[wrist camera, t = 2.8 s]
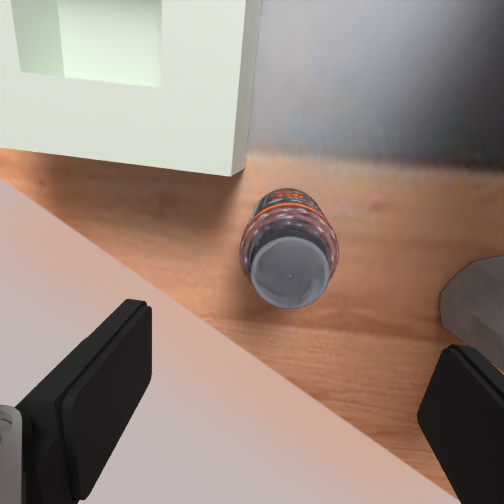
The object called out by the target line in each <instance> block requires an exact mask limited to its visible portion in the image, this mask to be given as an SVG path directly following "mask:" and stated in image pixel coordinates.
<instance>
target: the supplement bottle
mask: <svg viewBox="0 0 504 504" xmlns="http://www.w3.org/2000/svg"><path fill="white" fill-rule="evenodd" d="M338 259H339V247H338V241H337V237H336V235H335V232H334V230H333V228H332V227H331V225H330V223H329V222H328V220H327V219H326V217H325V216H324V214H323V213H322V211H321V209H320V208H319V207H318V205H317V203H316V202H315V201H314V200H313V199H312V198H311V197H310V196H308V195H307V194H305V193H304V192H302V191H299V190H296V189H291V188H284V189H278V190H275V191H272V192H271V193H269V194H267V195H265V196H264V197H263V198H262V199H261V200H260V201H259V203H258V204H257V205H256V207H255V209H254V211H253V213H252V215H251V218H250V220H249V222H248V225H247V227H246V229H245V231H244V234H243V237H242V240H241V244H240V262H241V266H242V269H243V272H244V274H245V276H246V278H247V279H248V280H249V282H250V283H251V284H252V285H253V286H254V289H255V290H256V292H257V293H258V295H259V296H260V297H261V298H262V299H264V300H265V301H266V302H268V303H269V304H271V305H273V306H275V307H279V308H282V309H298V308H302V307H305V306H307V305H309V304H311V303H313V302H314V301H316V300H317V299H318V298H319V297H320V296H321V295H322V294H323V292H324V291H325V289H326V287H327V285H328V282H329V281H330V279H331V278H332V276H333V274H334V272H335V270H336V267H337V264H338Z"/></svg>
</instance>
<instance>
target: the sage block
mask: <svg viewBox="0 0 504 504" xmlns="http://www.w3.org/2000/svg"><path fill="white" fill-rule="evenodd" d="M261 3H262V0H0V147H1V148H9V149H17V150H25V151H33V152H41V153H49V154H56V155H64V156H72V157H80V158H88V159H96V160H104V161H112V162H119V163H127V164H135V165H143V166H151V167H159V168H167V169H175V170H182V171H190V172H198V173H206V174H214V175H222V176H230V177H231V176H233V175H234V174H236V173H237V172H239V171H241V170H242V169H244V168H245V161H246V151H247V141H248V131H249V121H250V112H251V102H252V92H253V82H254V72H255V62H256V53H257V43H258V33H259V23H260V13H261Z"/></svg>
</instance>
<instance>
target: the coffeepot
mask: <svg viewBox="0 0 504 504" xmlns="http://www.w3.org/2000/svg"><path fill="white" fill-rule="evenodd" d="M440 315H441V326H442V327H443V328H445V329H446V330H448V331H449V332H450V333H452V334H453V335H454V336H456V337H457V338H459V339H460V340H461V341H463V342H464V343H466V344H467V345H468V346H470V347H474V348H475V349H477V350H478V351H479V352H480V353H481V354H482V355H483V356H484V357H485V358H486V359H488V360H489V361H490V362H492V363H493V364H494V365H496V366H497V367H499V368H500V369H501V370H503V371H504V256H496V257H490V258H486V259H482V260H479V261H473V262H472V263H470V264H469V265H468V266H466V267H465V268H463V269H462V270H461V271H460V272H459V273H457V274H456V275H455V276H454V277H453V278H452V279H451V281H450V282H449V283H448V284H447V286H446V288H445V289H444V290H443V291H442V292H441V299H440Z"/></svg>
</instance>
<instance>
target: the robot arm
mask: <svg viewBox="0 0 504 504" xmlns="http://www.w3.org/2000/svg"><path fill="white" fill-rule="evenodd" d="M151 375H152V308H151V307H150V306H147V303H146V302H145V301H140V300H133V299H126V300H125V301H124V302H123V303H122V304H121V305H120V306H119V307H118V308H117V309H116V310H115V311H114V312H113V313H112V314H111V315H110V316H109V317H108V318H107V319H106V320H105V321H104V322H103V323H102V324H101V325H100V326H99V327H98V328H97V329H96V330H95V331H94V332H93V333H91V334H90V335H89V337H87V338H85V339H84V340H83V341H82V342H81V343H80V344H79V345H78V346H77V347H76V348H75V349H74V350H73V351H72V352H71V353H70V354H69V355H67V357H66V358H64V359H63V360H62V361H61V362H60V363H59V364H58V365H57V366H56V367H55V368H54V369H53V370H52V371H51V372H50V373H49V374H48V375H47V376H46V377H45V378H44V379H43V380H42V381H41V382H40V383H39V384H38V385H37V386H36V387H35V388H34V389H33V390H32V391H31V392H30V393H29V394H28V395H27V396H26V397H25V398H24V399H23V400H22V401H21V402H20V403H19V404H18V405H17V406H15V407H12V406H8V405H0V504H77V503H78V502H79V500H85V499H86V498H87V497H88V496H89V494H90V493H91V491H92V489H93V487H94V485H95V483H96V481H97V480H98V478H99V476H100V474H101V472H102V470H103V468H104V467H105V465H106V463H107V461H108V459H109V457H110V456H111V454H112V452H113V450H114V448H115V446H116V444H117V443H118V441H119V439H120V437H121V435H122V433H123V431H124V430H125V427H126V426H127V424H128V422H129V420H130V418H131V417H132V415H133V413H134V411H135V409H136V407H137V406H138V404H139V402H140V400H141V398H142V396H143V394H144V393H145V391H146V389H147V387H148V385H149V383H150V380H151ZM417 420H418V424H419V426H420V428H421V430H422V431H423V433H424V435H425V437H426V439H427V441H428V443H429V445H430V446H431V448H432V450H433V452H434V454H435V456H436V458H437V459H438V461H439V463H440V465H441V467H442V469H443V471H444V472H445V474H446V476H447V478H448V480H449V482H450V484H451V485H452V487H453V489H454V491H455V493H456V495H457V497H458V499H459V500H460V502H461V504H504V375H503V374H502V373H501V372H500V371H499V370H497V369H496V368H495V367H494V366H493V365H492V364H491V363H490V362H489V361H488V360H487V359H486V358H485V357H484V356H483V355H482V354H481V353H480V352H479V351H478V350H477V349H475V348H474V347H470V346H463V345H456V344H452V345H450V346H448V348H445V349H444V350H443V351H442V353H441V355H440V358H439V360H438V363H437V365H436V368H435V370H434V373H433V375H432V378H431V380H430V383H429V385H428V388H427V390H426V392H425V395H424V397H423V400H422V402H421V405H420V407H419V410H418V413H417Z"/></svg>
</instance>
